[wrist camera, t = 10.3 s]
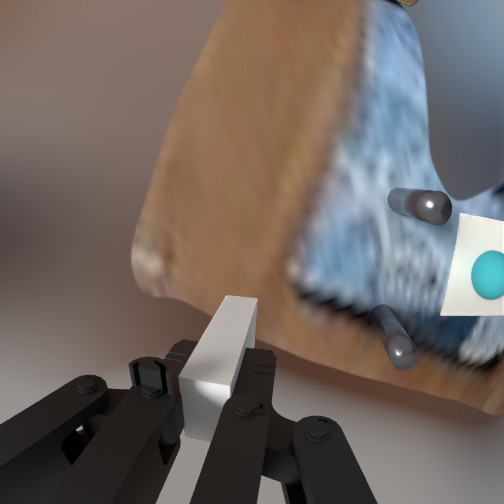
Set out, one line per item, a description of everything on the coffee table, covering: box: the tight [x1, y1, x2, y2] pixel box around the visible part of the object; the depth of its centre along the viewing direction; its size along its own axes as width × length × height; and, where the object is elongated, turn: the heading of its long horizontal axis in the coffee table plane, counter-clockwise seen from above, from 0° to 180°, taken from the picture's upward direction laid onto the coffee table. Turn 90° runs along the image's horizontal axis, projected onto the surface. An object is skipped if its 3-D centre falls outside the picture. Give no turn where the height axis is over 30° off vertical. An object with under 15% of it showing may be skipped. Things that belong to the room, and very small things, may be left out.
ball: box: [471, 250, 504, 300], centre depth 24 cm, size 6×6×6 cm
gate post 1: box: [370, 305, 419, 370], centre depth 26 cm, size 2×2×9 cm
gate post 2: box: [388, 188, 452, 225], centre depth 23 cm, size 2×2×9 cm
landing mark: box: [440, 213, 504, 316], centre depth 27 cm, size 12×12×1 cm
